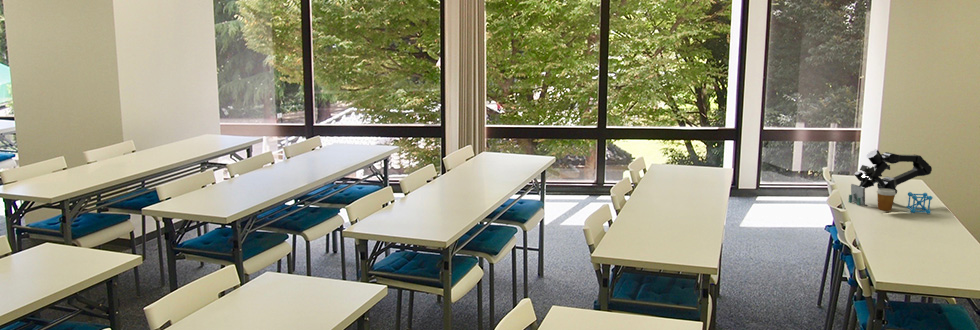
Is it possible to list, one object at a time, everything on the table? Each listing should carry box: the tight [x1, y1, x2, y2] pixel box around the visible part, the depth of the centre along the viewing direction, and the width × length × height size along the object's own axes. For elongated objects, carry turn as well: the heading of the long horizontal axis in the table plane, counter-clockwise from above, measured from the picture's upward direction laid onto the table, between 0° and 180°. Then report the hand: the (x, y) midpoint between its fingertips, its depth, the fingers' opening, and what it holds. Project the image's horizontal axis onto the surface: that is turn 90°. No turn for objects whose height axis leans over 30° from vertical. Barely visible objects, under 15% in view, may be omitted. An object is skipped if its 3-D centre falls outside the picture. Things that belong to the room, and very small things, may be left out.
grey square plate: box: [850, 183, 866, 206], centre depth 438 cm, size 1×10×11 cm, turn 14°
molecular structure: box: [906, 191, 933, 215], centre depth 425 cm, size 10×10×10 cm
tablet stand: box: [847, 194, 869, 207], centre depth 440 cm, size 10×13×6 cm
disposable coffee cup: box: [876, 188, 897, 214], centre depth 425 cm, size 10×10×12 cm
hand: (858, 189), depth 438 cm, fingers closed, pressing on grey square plate
